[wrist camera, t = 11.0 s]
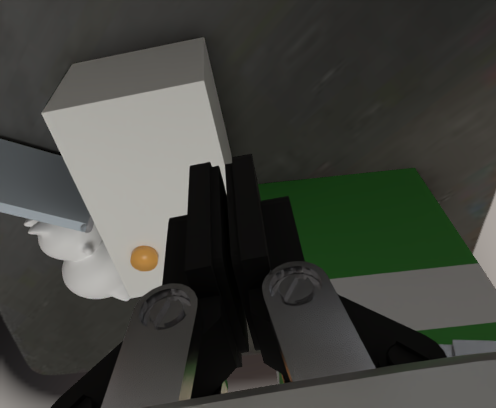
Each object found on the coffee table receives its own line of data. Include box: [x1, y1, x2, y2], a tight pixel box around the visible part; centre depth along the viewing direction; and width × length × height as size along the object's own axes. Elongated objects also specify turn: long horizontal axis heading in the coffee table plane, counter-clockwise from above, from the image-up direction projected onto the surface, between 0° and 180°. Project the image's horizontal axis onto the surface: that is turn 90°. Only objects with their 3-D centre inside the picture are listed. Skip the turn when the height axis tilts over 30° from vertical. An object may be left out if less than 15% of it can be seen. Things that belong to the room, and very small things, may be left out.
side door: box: [0, 139, 94, 233], centre depth 42 cm, size 16×3×9 cm, turn 68°
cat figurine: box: [24, 219, 130, 301], centre depth 51 cm, size 9×11×12 cm
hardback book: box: [258, 168, 496, 384], centre depth 44 cm, size 18×7×24 cm, turn 94°
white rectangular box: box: [41, 37, 232, 298], centre depth 44 cm, size 22×12×11 cm, turn 10°
